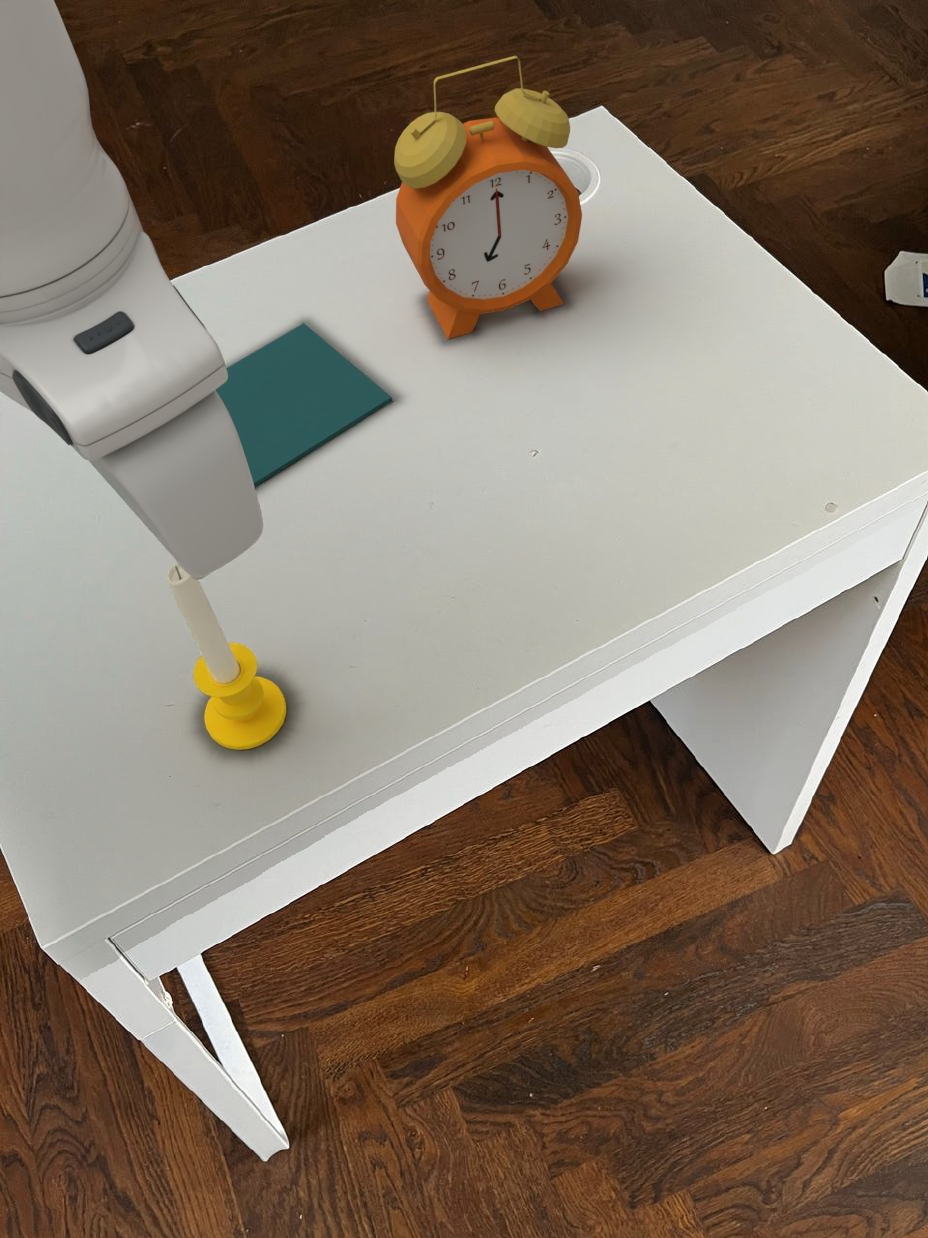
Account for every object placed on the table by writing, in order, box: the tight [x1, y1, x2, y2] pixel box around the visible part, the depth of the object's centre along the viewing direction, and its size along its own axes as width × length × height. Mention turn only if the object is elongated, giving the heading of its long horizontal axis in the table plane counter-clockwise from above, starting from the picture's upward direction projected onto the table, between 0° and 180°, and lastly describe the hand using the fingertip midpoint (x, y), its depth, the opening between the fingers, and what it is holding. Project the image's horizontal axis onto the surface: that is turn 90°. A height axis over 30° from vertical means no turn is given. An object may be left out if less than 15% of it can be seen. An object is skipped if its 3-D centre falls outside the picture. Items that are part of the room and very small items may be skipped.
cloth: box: [216, 322, 393, 487], centre depth 89 cm, size 18×12×1 cm, turn 129°
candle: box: [166, 562, 287, 751], centre depth 67 cm, size 5×5×16 cm
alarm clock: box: [393, 55, 583, 340], centre depth 86 cm, size 13×6×20 cm, turn 110°
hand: (154, 509), depth 57 cm, fingers open, 8 cm apart
